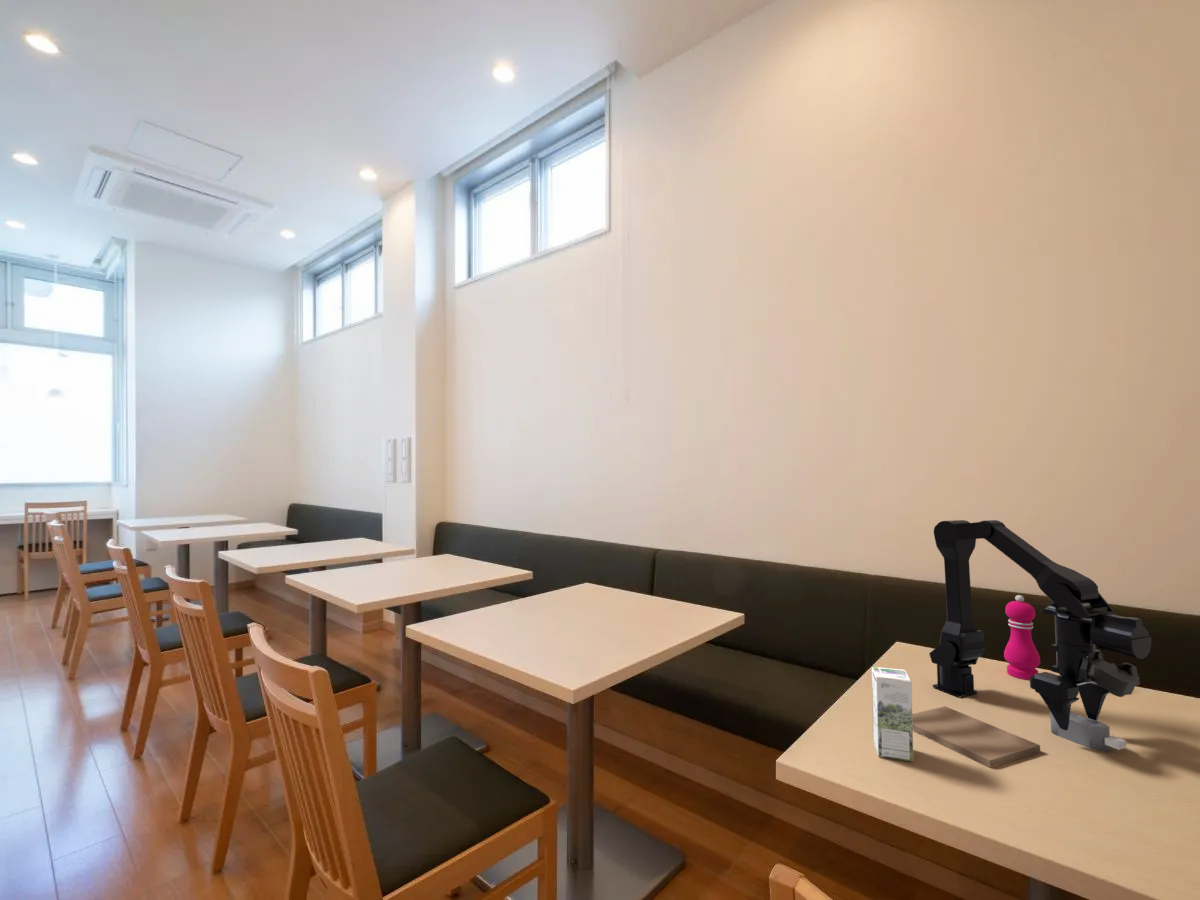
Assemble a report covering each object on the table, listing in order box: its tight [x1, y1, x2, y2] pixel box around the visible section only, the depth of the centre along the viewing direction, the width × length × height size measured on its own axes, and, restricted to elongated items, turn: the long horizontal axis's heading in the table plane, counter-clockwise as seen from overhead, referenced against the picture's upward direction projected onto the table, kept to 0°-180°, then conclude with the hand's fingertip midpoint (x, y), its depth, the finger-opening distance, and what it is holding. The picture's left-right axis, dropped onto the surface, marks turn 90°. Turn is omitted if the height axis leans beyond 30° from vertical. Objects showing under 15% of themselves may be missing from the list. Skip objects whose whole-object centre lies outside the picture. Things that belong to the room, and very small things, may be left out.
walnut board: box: [912, 706, 1041, 768], centre depth 104 cm, size 18×14×1 cm
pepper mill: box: [1003, 594, 1041, 681], centre depth 136 cm, size 7×7×20 cm
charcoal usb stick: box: [1049, 710, 1127, 752], centre depth 102 cm, size 11×4×4 cm, turn 22°
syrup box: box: [871, 666, 914, 762], centre depth 99 cm, size 6×6×14 cm
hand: (1078, 725), depth 103 cm, fingers open, 9 cm apart
